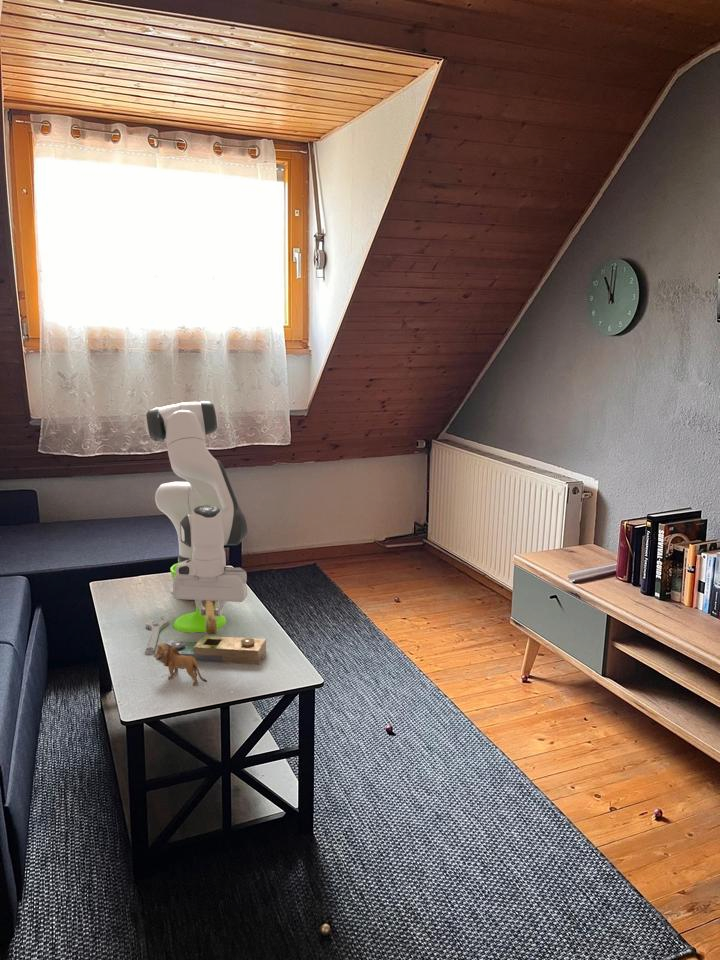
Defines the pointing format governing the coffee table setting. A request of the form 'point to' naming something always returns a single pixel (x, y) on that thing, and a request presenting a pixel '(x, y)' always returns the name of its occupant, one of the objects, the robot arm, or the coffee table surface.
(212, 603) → the brass pin
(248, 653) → the door latch
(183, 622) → the wineglass
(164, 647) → the lion figurine
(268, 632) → the coffee table surface
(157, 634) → the adjustable wrench
